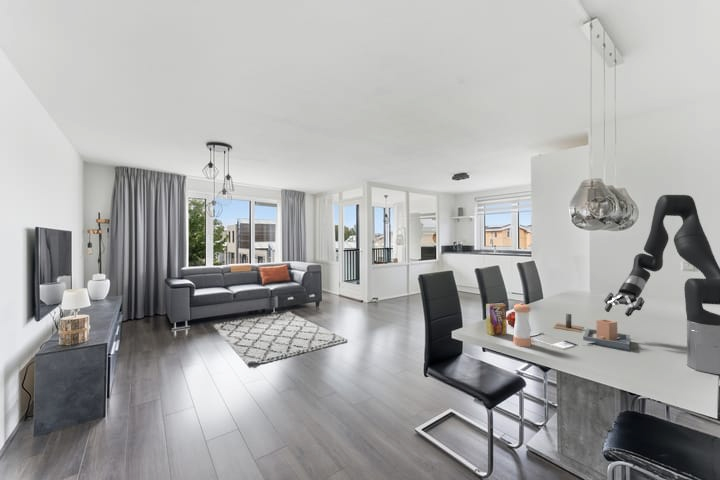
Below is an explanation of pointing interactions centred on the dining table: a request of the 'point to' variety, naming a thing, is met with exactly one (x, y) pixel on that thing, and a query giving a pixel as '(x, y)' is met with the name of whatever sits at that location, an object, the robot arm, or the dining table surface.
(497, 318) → the candy box
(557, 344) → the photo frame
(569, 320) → the post stand
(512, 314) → the dragon fruit
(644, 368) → the dining table surface
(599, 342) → the tray
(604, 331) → the orange-brown box
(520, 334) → the pepper shaker
